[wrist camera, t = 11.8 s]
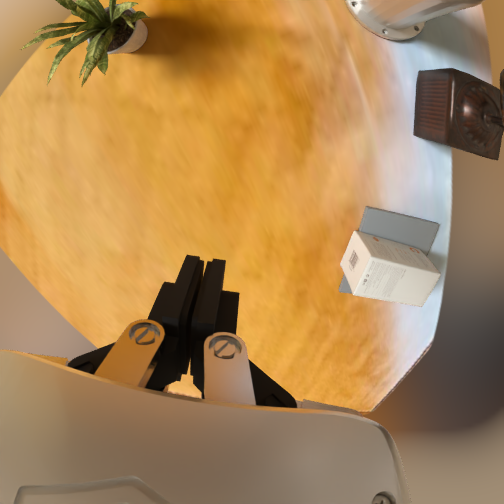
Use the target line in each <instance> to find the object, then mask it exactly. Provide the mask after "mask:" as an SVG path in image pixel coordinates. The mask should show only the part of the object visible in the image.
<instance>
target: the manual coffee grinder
mask: <svg viewBox="0 0 504 504" xmlns="http://www.w3.org/2000/svg"><path fill="white" fill-rule="evenodd" d="M503 131H504V69H503V71H502V72H501V74H500V90H499V89H498V88H496V87H494V86H493V85H491V84H489V83H487V82H485V81H482V80H480V79H478V78H476V77H474V76H472V75H470V74H468V73H465V72H462V71H459V70H456V69H454V68H446V69H436V70H425V71H419V72H418V77H417V84H416V100H415V118H414V136H417V137H420V138H423V139H427V140H432V141H435V142H438V143H441V144H445V145H448V146H451V147H454V148H457V149H460V150H463V151H466V152H470V153H473V154H476V155H479V156H482V157H486V158H489V159H494V160H498V158H499V152H500V146H501V138H502V135H503Z"/></svg>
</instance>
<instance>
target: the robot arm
mask: <svg viewBox="0 0 504 504" xmlns="http://www.w3.org/2000/svg"><path fill="white" fill-rule="evenodd" d="M483 1H485V0H345V2H346V5H347V7H348V9H349V11H350V12H351V14H352V15H353V16H354V18H355V19H356V20H357V21H358V22H359V23H360V24H361V25H362V26H364V27H365V28H366V29H368V30H369V31H371V32H372V33H374V34H376V35H378V36H380V37H383V38H386V39H390V40H406V39H409V38H412V37H414V36H416V35H418V34H419V33H420V32H421V31H422V29H423V27H424V25H425V22H426V21H428V20H431V19H433V18H436V17H439V16H443V15H446V14H449V13H452V12H456V11H459V10H463V9H466V8H470V7H474V6H477V5H479V4H481V3H482V2H483ZM351 4H352V5H354V6H352V5H351ZM382 31H383V32H384V33H383V32H382ZM225 263H226V260H219V259H213V261H212V262H209V261H208V262H207V265H206V269H205V272H204V276H203V270H204V261H202V260H200V257H198V256H191V255H187V256H186V258H185V260H184V263H183V265H182V267H181V270H180V272H179V275H178V277H177V280H176V282H175V283H170V282H164V283H163V285H162V287H161V289H160V291H159V294H158V296H157V298H156V300H155V303H154V305H153V307H152V309H151V312H150V314H149V316H148V319H144V320H137V321H134V322H133V323H131V324H130V325H129V326H128V327H127V328H126V329H125V330H124V332H123V333H122V335H121V336H120V337H119V339H118V340H117V342H115V343H112V344H110V345H107V346H105V347H102V348H99V349H97V350H94V351H92V352H89V353H86V354H84V355H81V356H79V357H76V358H74V359H73V360H72V361H68V359H67V358H63V357H54V356H45V355H38V354H31V353H23V352H19V351H14V350H3V349H2V350H0V504H411V498H410V493H409V488H408V483H407V479H406V475H405V471H404V467H403V464H402V461H401V458H400V455H399V452H398V449H397V447H396V444H395V442H394V440H393V439H392V437H391V435H390V434H389V432H388V431H387V430H386V429H385V428H384V427H382V426H381V425H380V424H378V423H376V422H374V421H371V420H369V419H367V418H364V417H363V416H362V415H361V414H360V413H359V412H358V411H356V410H353V409H349V408H344V407H338V406H333V405H328V404H323V403H318V402H314V401H309V400H305V399H304V400H303V402H301V401H297V400H295V399H294V398H293V397H292V396H291V394H289V393H288V392H287V391H286V390H285V389H283V388H282V387H281V386H280V385H278V384H277V383H276V382H275V381H274V380H272V379H271V378H270V377H269V376H268V375H266V374H265V373H264V372H263V371H262V370H261V369H259V368H258V367H257V366H256V365H255V364H254V363H252V362H251V361H250V360H249V359H248V355H247V348H246V345H245V342H244V341H243V340H242V339H241V338H240V337H238V336H237V335H236V327H237V316H238V304H239V293H238V292H230V291H223V290H222V289H223V280H224V272H225ZM190 357H191V359H190ZM189 362H190V375H192V376H193V384H194V385H195V386H196V387H197V388H198V389H199V390H200V391H201V392H202V394H201V399H199V398H193V397H187V396H181V395H176V394H171V393H167V392H168V389H169V384H171V383H173V382H175V381H180V380H181V376H182V374H187V371H188V367H189Z"/></svg>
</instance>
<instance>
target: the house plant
mask: <svg viewBox="0 0 504 504" xmlns="http://www.w3.org/2000/svg"><path fill="white" fill-rule="evenodd" d="M56 1H57V2H58V3H60V4H61V5H62V6H64V7H65V8H67V9H70V10H71V12H72V14H73V15H75V16H78V17H80V18H81V19H83V20H84V21H86V22H74V23H58V24H51V25H47V26H45V27H43V28H41V29H39V30H37V31H36V32H35V33H37V32H39V31H42V30H46V29H50V28H57V27H68V26H76V27H72V28H67V29H61V30H56V31H51V32H47V33H44V34H41V35H39V36H38V37H36V38H35V39H33V40H32V41H30V42H29V43H27V44H26V45H25V46H24V47H23V48H22V49H24V48H26V47H28V46H30V45H32V44H34V43H37V42H39V41H42V40H45V39H48V38H54V37H59V36H64V35H67V34H70V33H74V34H75V33H77V32H80V31H85V30H87V31H85V32H83V33H81V34H79V35H78V36H74V34H73V35H72V37H70V38H65V39H61V40H59V41H57V42H56V43H54V44H52V45H50V46H49V47H48V48H51V47H54V46H59V45H63V44H65V45H64V46H63V47H62V48H61V50H60V51H59V52H58V53H57V55H56V56H55V59H54V61H53V64H52V68H51V70H50V73H49V76H48V83H49V81H50V79H51V77H52V75H53V73H54V71H56V69H57V67H58V65H59V63H60V61H61V60H62V58H63V57H64V56H65V55H67V54H68V53H69V52H70V50H71V49H73V48H74V47H76V46H77V45H79V44H80V43H82V42H84V41H85V40H88V46H87V51H88V52H87V55H86V58H85V62H84V64H83V66H82V69H81V71H80V77H81V75H82V73H83V71H84V69H85V68H87V69H86V71H85V74H84V78H83V81H82V86H83V84H84V83H85V82H86V80H87V78H88V76H89V75H91V72H92V70H93V69H94V68H95V67H96V65H97V66H98V68H99V69H100V71H101V72H102V73H104V74H105V72H106V70H107V68H108V54H117V53H131V52H134V51H136V50H138V49H139V48H140V47H141V46H142V45H143V44H144V43H145V41H146V39H147V35H148V30H147V27H146V25H145V24H144V22H143V21H142V20H141V19H142V18H150V17H148V16H147V15H146V14H145V13H144V12H141V11H137V12H136V11H135V10H134V9H133V8H132V7H133V6H134V5H136V4H138V3H135V2H125V3H122V4H116V0H110V2H109V7H107V8H105V9H104V8H103V6H102V4H101V3H100V2H99V0H77V1H76V2H73V1H72V0H56ZM80 41H81V42H80ZM46 49H47V48H46ZM80 77H79V78H80ZM47 85H48V84H47Z"/></svg>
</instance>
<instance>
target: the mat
mask: <svg viewBox="0 0 504 504" xmlns="http://www.w3.org/2000/svg"><path fill="white" fill-rule="evenodd" d="M438 226H439V224H438V223H435V222H432V221H428V220H424V219H420V218H416V217H412V216H408V215H403V214H399V213H395V212H391V211H386V210H382V209H377V208H373V207H368V206H366V208H365V211H364V214H363V218H362V221H361V224H360V228H359V232H363V233H366V234H370V235H373V236H377V237H380V238H384V239H387V240H391V241H394V242H398V243H401V244H404V245H408V246H411V247H414V248H418V249H420V250H421V251H422V252H423V254H424V255H425V256H426V257H427V255H428V252H429V250H430V247H431V245H432V242H433V240H434V237H435V234H436V232H437V229H438ZM339 292H343V293H352V290H351V288H350V285H349V283H348V281H347V278H346V276H345V274H344V276H343V279H342V281H341V284H340V287H339ZM352 294H353V293H352Z"/></svg>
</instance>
